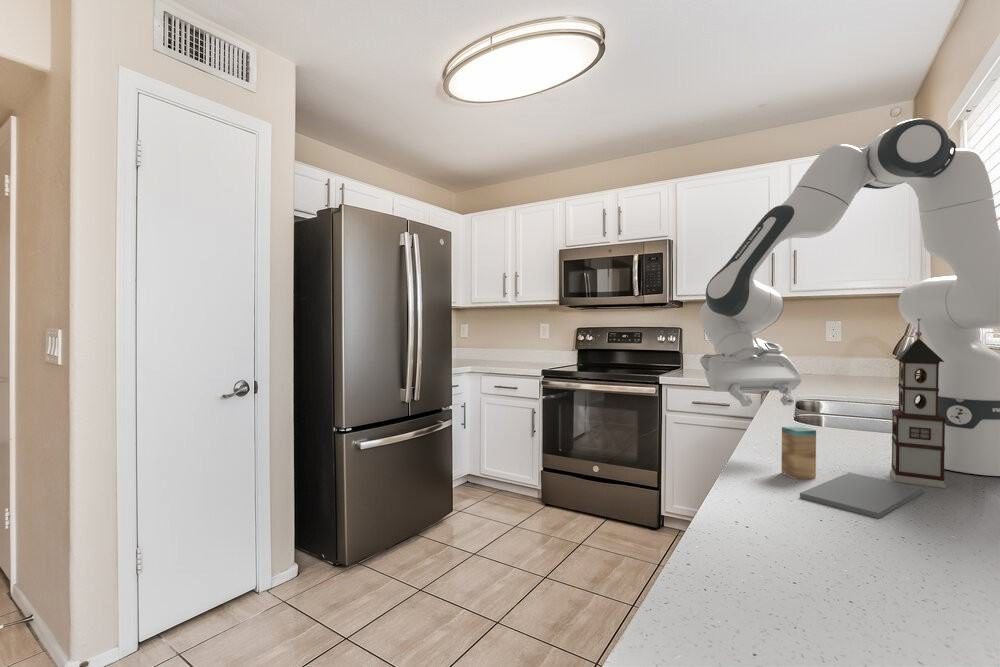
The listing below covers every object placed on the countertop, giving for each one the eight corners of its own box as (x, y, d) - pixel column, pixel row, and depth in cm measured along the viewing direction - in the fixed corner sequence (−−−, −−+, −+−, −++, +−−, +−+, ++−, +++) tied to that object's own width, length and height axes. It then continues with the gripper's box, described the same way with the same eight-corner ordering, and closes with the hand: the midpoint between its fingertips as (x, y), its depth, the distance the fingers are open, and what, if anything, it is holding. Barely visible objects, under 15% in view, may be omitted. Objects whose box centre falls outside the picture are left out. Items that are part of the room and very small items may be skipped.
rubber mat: (849, 476, 95) (849, 472, 95) (922, 492, 86) (922, 487, 86) (799, 497, 83) (799, 492, 83) (878, 518, 74) (878, 512, 74)
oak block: (781, 472, 97) (781, 426, 97) (800, 472, 98) (800, 426, 98) (796, 479, 94) (796, 431, 93) (815, 478, 94) (816, 430, 94)
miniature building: (893, 481, 92) (896, 318, 92) (889, 472, 98) (891, 318, 97) (946, 488, 88) (949, 318, 88) (938, 478, 94) (940, 318, 93)
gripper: (702, 345, 110) (728, 396, 100) (787, 345, 113) (820, 394, 103) (692, 364, 114) (716, 414, 105) (773, 363, 117) (804, 412, 108)
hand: (768, 404), depth 104 cm, fingers open, 8 cm apart
